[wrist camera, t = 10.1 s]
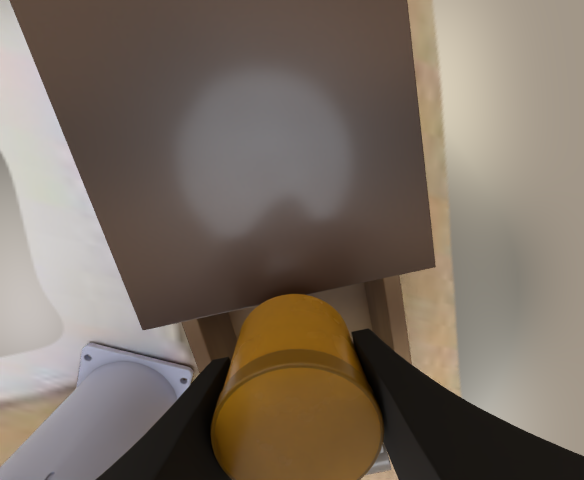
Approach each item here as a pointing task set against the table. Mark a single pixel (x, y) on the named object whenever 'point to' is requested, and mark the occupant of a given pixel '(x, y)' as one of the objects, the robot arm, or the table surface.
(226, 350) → the drawer
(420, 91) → the table surface
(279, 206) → the cabinet
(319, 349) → the tin
